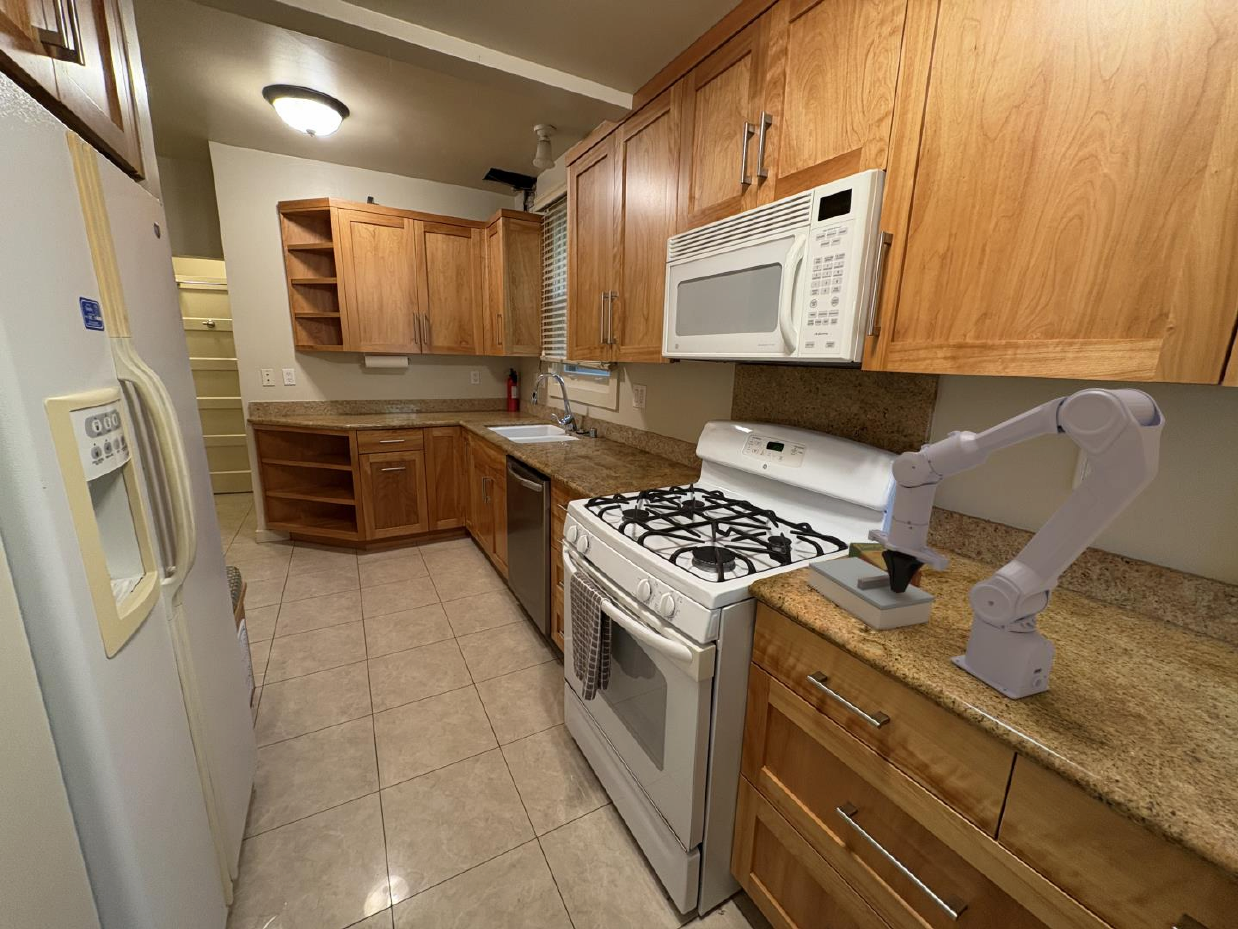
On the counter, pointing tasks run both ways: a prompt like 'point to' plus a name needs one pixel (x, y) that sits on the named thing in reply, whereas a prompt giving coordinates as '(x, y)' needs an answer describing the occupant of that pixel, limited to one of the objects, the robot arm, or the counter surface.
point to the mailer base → (869, 605)
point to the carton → (876, 557)
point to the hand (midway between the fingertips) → (897, 591)
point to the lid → (869, 583)
